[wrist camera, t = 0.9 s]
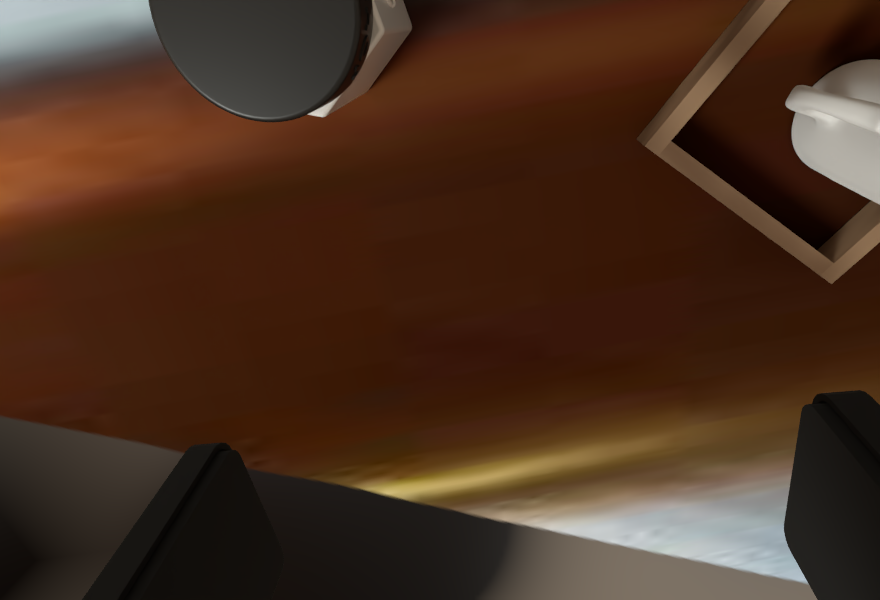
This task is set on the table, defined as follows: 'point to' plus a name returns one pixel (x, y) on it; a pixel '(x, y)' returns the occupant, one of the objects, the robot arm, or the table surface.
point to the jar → (280, 51)
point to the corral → (685, 101)
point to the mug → (841, 126)
